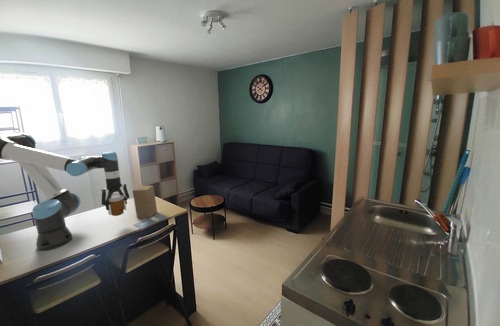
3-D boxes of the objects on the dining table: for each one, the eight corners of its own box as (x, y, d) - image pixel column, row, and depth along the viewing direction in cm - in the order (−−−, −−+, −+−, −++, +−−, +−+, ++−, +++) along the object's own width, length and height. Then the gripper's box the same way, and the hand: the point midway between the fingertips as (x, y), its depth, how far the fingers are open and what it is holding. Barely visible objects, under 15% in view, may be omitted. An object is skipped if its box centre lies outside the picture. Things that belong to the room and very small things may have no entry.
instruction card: (141, 229, 136) (141, 228, 136) (133, 224, 141) (133, 224, 141) (167, 217, 150) (167, 217, 150) (158, 214, 156) (158, 213, 155)
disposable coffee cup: (125, 215, 137) (123, 197, 134) (108, 218, 133) (105, 199, 130) (126, 209, 145) (124, 192, 142) (110, 212, 141) (107, 194, 138)
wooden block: (150, 217, 150) (147, 189, 146) (136, 218, 150) (132, 190, 146) (157, 211, 160) (153, 185, 156) (143, 211, 160) (139, 185, 156)
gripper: (95, 182, 123) (101, 219, 128) (133, 174, 140) (137, 207, 145) (90, 180, 127) (96, 216, 132) (127, 172, 144) (131, 205, 149)
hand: (117, 211), depth 139 cm, fingers closed on disposable coffee cup, 8 cm apart
